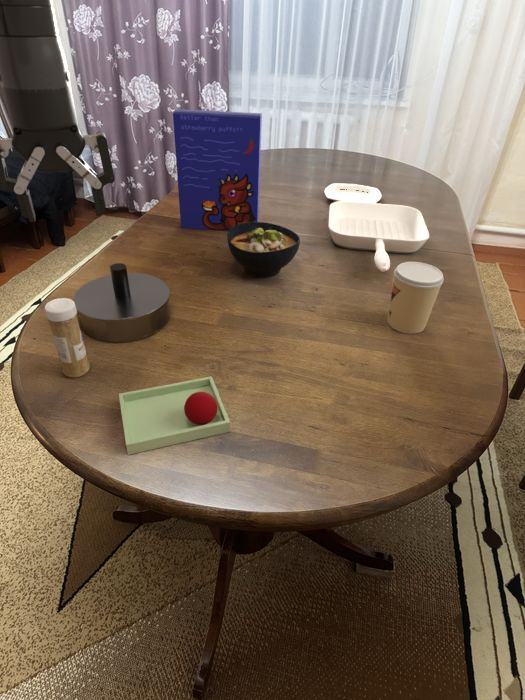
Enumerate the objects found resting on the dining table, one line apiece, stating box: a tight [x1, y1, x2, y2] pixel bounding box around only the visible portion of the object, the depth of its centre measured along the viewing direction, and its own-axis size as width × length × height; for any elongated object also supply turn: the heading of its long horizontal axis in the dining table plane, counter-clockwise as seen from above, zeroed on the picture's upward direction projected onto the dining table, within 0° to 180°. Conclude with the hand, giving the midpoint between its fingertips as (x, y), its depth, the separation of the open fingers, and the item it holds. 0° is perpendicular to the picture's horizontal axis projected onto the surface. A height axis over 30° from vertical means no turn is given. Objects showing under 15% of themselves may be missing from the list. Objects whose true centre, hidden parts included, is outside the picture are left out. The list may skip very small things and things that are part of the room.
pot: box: [77, 299, 171, 344], centre depth 94 cm, size 17×17×5 cm
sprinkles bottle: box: [44, 297, 91, 378], centre depth 77 cm, size 5×5×13 cm
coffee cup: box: [387, 261, 445, 335], centre depth 94 cm, size 9×9×12 cm
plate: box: [324, 182, 383, 203], centre depth 159 cm, size 19×19×2 cm
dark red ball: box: [184, 392, 217, 425], centre depth 70 cm, size 5×5×5 cm
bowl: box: [226, 221, 301, 278], centre depth 111 cm, size 17×17×10 cm
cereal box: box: [172, 108, 263, 232], centre depth 126 cm, size 22×6×30 cm, turn 87°
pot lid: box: [72, 262, 171, 322], centre depth 90 cm, size 18×18×7 cm
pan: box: [327, 201, 430, 272], centre depth 126 cm, size 27×44×5 cm, turn 172°
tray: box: [118, 375, 231, 456], centre depth 72 cm, size 15×11×2 cm
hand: (66, 216), depth 64 cm, fingers open, 8 cm apart
